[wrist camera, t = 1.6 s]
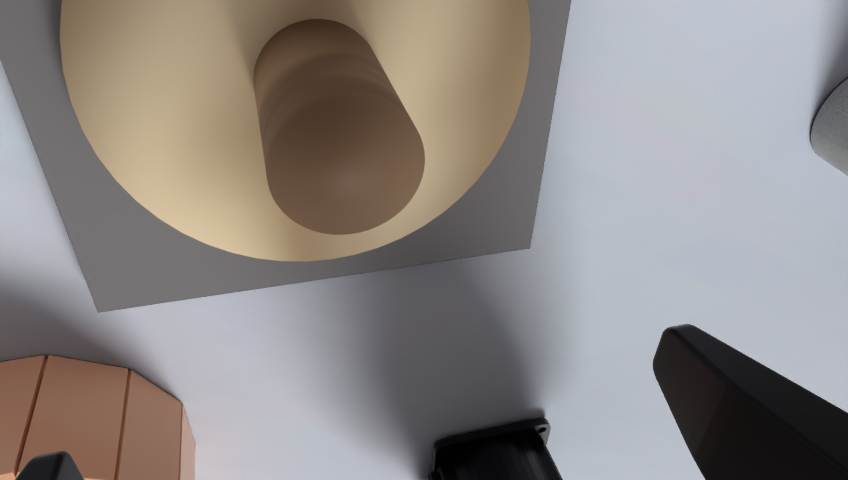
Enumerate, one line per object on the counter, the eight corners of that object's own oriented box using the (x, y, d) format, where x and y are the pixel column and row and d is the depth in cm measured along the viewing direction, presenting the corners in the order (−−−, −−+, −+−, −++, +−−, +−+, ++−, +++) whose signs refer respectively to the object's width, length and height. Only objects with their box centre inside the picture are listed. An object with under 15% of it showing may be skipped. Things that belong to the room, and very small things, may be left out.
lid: (549, -189, 16) (678, -169, 12) (498, 222, 24) (564, 327, 20) (-18, -202, 13) (-130, -179, 9) (133, 271, 21) (114, 409, 17)
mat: (595, -260, 16) (614, -261, 16) (520, 233, 26) (530, 248, 25) (-117, -296, 13) (-137, -300, 12) (101, 293, 22) (97, 312, 22)
